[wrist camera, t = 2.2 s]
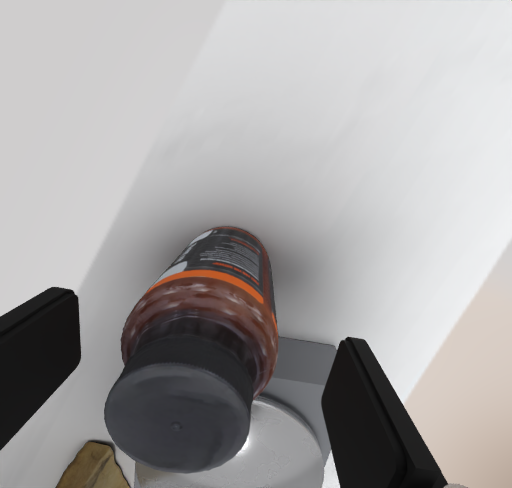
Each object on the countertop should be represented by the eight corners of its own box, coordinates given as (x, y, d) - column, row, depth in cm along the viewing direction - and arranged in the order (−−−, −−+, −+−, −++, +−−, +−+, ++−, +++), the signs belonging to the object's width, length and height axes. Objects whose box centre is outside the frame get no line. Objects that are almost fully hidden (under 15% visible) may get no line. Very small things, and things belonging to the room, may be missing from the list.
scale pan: (298, 528, 19) (300, 543, 18) (137, 507, 18) (132, 521, 17) (342, 407, 15) (347, 419, 14) (145, 377, 15) (139, 388, 14)
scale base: (294, 470, 23) (301, 529, 19) (154, 450, 23) (133, 507, 19) (336, 340, 19) (355, 383, 15) (165, 313, 19) (141, 350, 15)
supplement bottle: (178, 227, 17) (29, 335, 6) (267, 221, 16) (283, 321, 6) (192, 306, 18) (95, 503, 8) (272, 301, 18) (292, 497, 7)
